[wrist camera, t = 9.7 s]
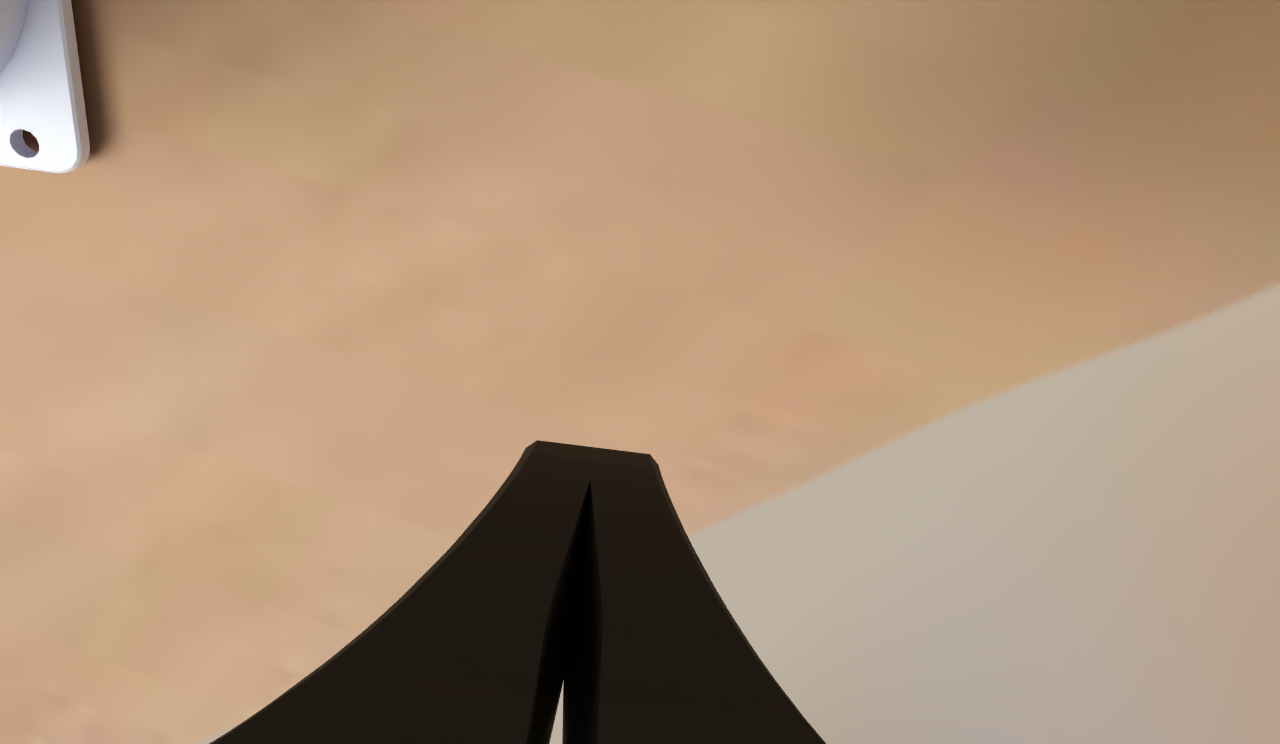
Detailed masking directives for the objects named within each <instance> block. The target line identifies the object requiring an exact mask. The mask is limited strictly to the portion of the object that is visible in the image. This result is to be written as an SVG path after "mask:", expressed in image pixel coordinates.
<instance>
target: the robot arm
mask: <svg viewBox="0 0 1280 744" xmlns="http://www.w3.org/2000/svg"><path fill="white" fill-rule="evenodd" d="M23 130H26V131H29V132H31V133H32V134H33V135H34V136H35V137H36V138H37V141H38V143H39V152H36V151H34V150H31V149H30V148H29V147H28V146H27V145H26V144H25V141H24V139H23V137H22V136H23ZM89 154H90V142H89V135H88V127H87V119H86V111H85V104H84V96H83V88H82V81H81V73H80V65H79V57H78V50H77V42H76V34H75V26H74V19H73V11H72V3H71V0H0V166H8V167H15V168H23V169H30V170H37V171H45V172H52V173H68V172H70V171H72V170H74V169H76V168H78V167H80V166H82V165H84V164H85V162H86V161H87V159H88V158H89ZM563 680H564V689H563V744H826V743H825V742H824V741H823V740H822V738H821V737H820V736H819V735H818V734H817V732H816V731H815V730H814V729H813V728H812V726H811V725H810V724H809V723H808V722H807V721H806V719H805V718H804V717H803V716H802V714H801V713H800V712H799V710H798V709H797V708H796V706H795V705H794V704H793V703H792V701H791V700H790V699H789V698H788V696H787V695H786V694H785V692H784V691H783V690H782V688H781V687H780V686H779V684H778V683H777V682H776V681H775V679H774V678H773V676H772V675H771V674H770V672H769V671H768V669H767V668H766V667H765V665H764V664H763V662H762V661H761V660H760V658H759V657H758V655H757V654H756V652H755V651H754V649H753V648H752V646H751V645H750V643H749V642H748V641H747V639H746V637H745V636H744V634H743V633H742V631H741V629H740V628H739V626H738V625H737V623H736V622H735V620H734V618H733V617H732V615H731V614H730V612H729V611H728V609H727V608H726V606H725V604H724V602H723V601H722V599H721V597H720V595H719V594H718V592H717V590H716V589H715V587H714V585H713V583H712V582H711V580H710V578H709V576H708V574H707V572H706V570H705V569H704V567H703V565H702V563H701V561H700V559H699V558H698V556H697V554H696V552H695V550H694V548H693V547H692V544H691V542H690V540H689V538H688V536H687V534H686V532H685V530H684V528H683V526H682V524H681V522H680V520H679V517H678V515H677V513H676V511H675V509H674V506H673V504H672V502H671V499H670V497H669V494H668V492H667V489H666V487H665V484H664V481H663V478H662V476H661V473H660V469H659V466H658V464H657V463H656V461H655V460H654V459H653V458H652V456H651V455H650V454H643V453H635V452H627V451H619V450H610V449H602V448H594V447H586V446H578V445H570V444H562V443H554V442H546V441H538V440H537V441H536V442H534V443H533V444H531V445H530V446H528V447H527V448H526V449H525V450H524V452H523V454H522V456H521V458H520V460H519V461H518V463H517V464H516V466H515V467H514V469H513V471H512V472H511V473H510V475H509V476H508V478H507V479H506V481H505V482H504V483H503V485H502V486H501V487H500V489H499V490H498V491H497V493H496V494H495V495H494V496H493V498H492V499H491V500H490V502H489V503H488V504H487V506H486V507H485V508H484V509H483V510H482V511H481V513H480V514H479V515H478V516H477V517H476V519H475V520H474V521H473V522H472V523H471V524H470V526H469V527H468V528H467V529H466V530H465V531H464V533H463V534H462V535H461V536H460V537H459V538H458V540H457V541H456V542H455V543H454V544H453V545H452V546H451V547H450V549H449V550H448V551H447V552H446V553H445V554H444V555H443V556H442V557H441V558H440V559H439V560H438V561H437V562H436V563H435V564H434V565H433V566H432V567H431V568H430V569H429V570H428V571H427V572H426V573H425V574H424V575H423V576H422V577H421V578H420V579H419V580H418V581H417V582H416V583H415V584H414V585H413V586H412V587H411V588H410V589H409V590H408V591H407V592H406V593H405V594H404V595H403V596H402V597H401V598H400V599H399V600H398V601H397V602H396V603H395V604H394V605H392V606H391V607H390V608H389V609H388V610H387V611H386V612H385V613H384V614H383V615H381V616H380V617H379V618H378V619H377V620H376V621H375V622H374V623H372V624H371V625H370V626H369V627H368V628H367V629H366V630H364V631H363V632H362V633H361V634H360V635H358V636H357V637H356V638H355V639H354V640H352V641H351V642H350V643H349V644H348V645H346V646H345V647H344V648H343V649H342V650H340V651H339V652H338V653H337V654H335V655H334V656H333V657H332V658H330V659H329V660H328V661H327V662H325V663H324V664H323V665H321V666H320V667H319V668H317V669H316V670H315V671H313V672H312V673H311V674H309V675H308V676H307V677H305V678H304V679H303V680H301V681H300V682H299V683H297V684H296V685H295V686H293V687H292V688H290V689H289V690H288V691H286V692H285V693H284V694H282V695H281V696H280V697H278V698H277V699H276V700H274V701H273V702H272V703H270V704H269V705H267V706H266V707H264V708H263V709H262V710H260V711H259V712H257V713H256V714H254V715H253V716H251V717H250V718H249V719H247V720H246V721H244V722H243V723H241V724H240V725H238V726H237V727H235V728H234V729H232V730H231V731H229V732H228V733H226V734H224V735H223V736H221V737H220V738H218V739H216V740H215V741H213V742H211V743H210V744H549V742H550V738H551V733H552V729H553V724H554V720H555V715H556V711H557V707H558V702H559V698H560V693H561V689H562V684H563Z"/></svg>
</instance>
